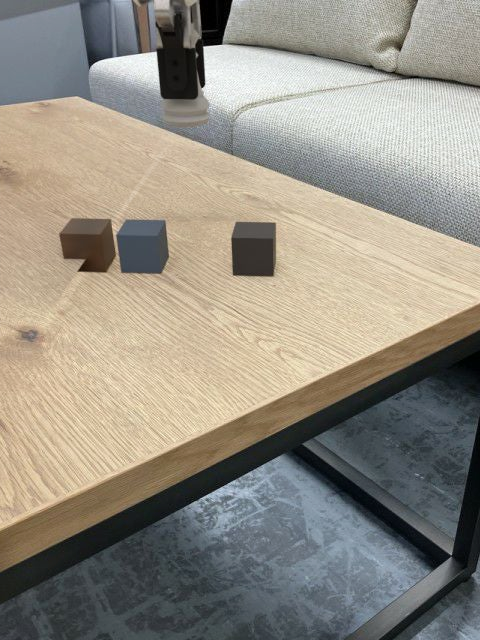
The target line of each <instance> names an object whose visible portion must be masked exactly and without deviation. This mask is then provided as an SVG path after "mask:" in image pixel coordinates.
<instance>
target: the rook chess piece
mask: <svg viewBox="0 0 480 640" xmlns="http://www.w3.org/2000/svg"><path fill="white" fill-rule="evenodd" d="M199 37H200V36H199V34H198V33H197V31H196V30H195V23H191V39H192V47H191V48H195V44H196V42H197V40H199V39H198V38H199ZM197 57H198V54H197V53H196V58H197ZM197 77H198V72H197ZM204 94H205V92H204V91H203V88H202V89H201V86H200V82H199V77H198V97H197V98H196V99H194V100H190V99H163V100H162V101H161V105H160V107H161V109H162V110H163V111H164V113H163V114H162V115H161V119H162V120H163V122H164V123H165V124H166V125H168V126H170V127H175V128H193V127H199V126H203V125H205V124H207V123H208V122H209V120H210V118H211V117H212V115H211V113H210V112H208V111H207V110H208V109H209V108H210V106H211V105H210V101H209V100H208V99H207V97H206V96H205V95H204Z"/></svg>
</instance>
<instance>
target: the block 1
mask: <svg viewBox="0 0 480 640" xmlns="http://www.w3.org/2000/svg"><path fill="white" fill-rule="evenodd" d="M58 235H59V236H58V237H59V241H60V246H61V251H62V257H63V259H64V260H83V262H82V263H81V265H80V266H79V268H78V269H77V272H76V273H107V272H108V270H109V268H110V267H111V265H112V264H113V262H114V260H115V258H116V257H117V252H116V251H117V250H116V245H115V239H114V232H113V224H112V219H111V218H87V217H86V218H85V217H84V218H83V217H81V218H80V217H73V218H72V217H71V218H70V219H69V221H68V222H67V223H66V224H65V225H64V227H63V228H62V229H61V230H60V231H59V233H58Z"/></svg>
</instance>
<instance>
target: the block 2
mask: <svg viewBox="0 0 480 640" xmlns="http://www.w3.org/2000/svg"><path fill="white" fill-rule="evenodd" d="M115 237H116V245H117V251H118V258H119V266H120V272H121V273H122V274H153V275H154V274H155V275H156V274H157V275H161V274H163V271H164V269H165V266H166V265H167V262H168V260H169V258H170V252H169V242H168V232H167V222H166V220H165V219H134V218H133V219H131V218H130V219H128V218H126V219H125V220H124V222H123V223H122V225H121V226H120V228H119V230H118V231H117V232H116V234H115Z"/></svg>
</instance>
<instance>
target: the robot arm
mask: <svg viewBox="0 0 480 640" xmlns="http://www.w3.org/2000/svg"><path fill="white" fill-rule="evenodd" d="M132 1H133V2H134V3H135V5H137V6H138V7H145V6H147V5H149V4H151V3H153V15H154V31H155V32H154V33H155V45H156V49H155V50H156V60H157V70H158V71H157V72H158V81H159V82H158V83H159V94H160V97H161V98H162V99H163V100H164V99H190V100H194V99H196V98H197V97H198V77H199V82H200V86H201V89H202V90H203V88H205V86H206V69H205V67H206V66H205V50H204V39H202V21H201V9H200V8H201V7H200V0H132ZM191 23H195V30H196V31H197V33H198V34H199V36H200V37H199V38H198V40H197V42H196V44H195V48H191V47H192V39H191ZM196 53H197V54H198V57H197V58H196ZM197 72H198V77H197Z"/></svg>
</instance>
